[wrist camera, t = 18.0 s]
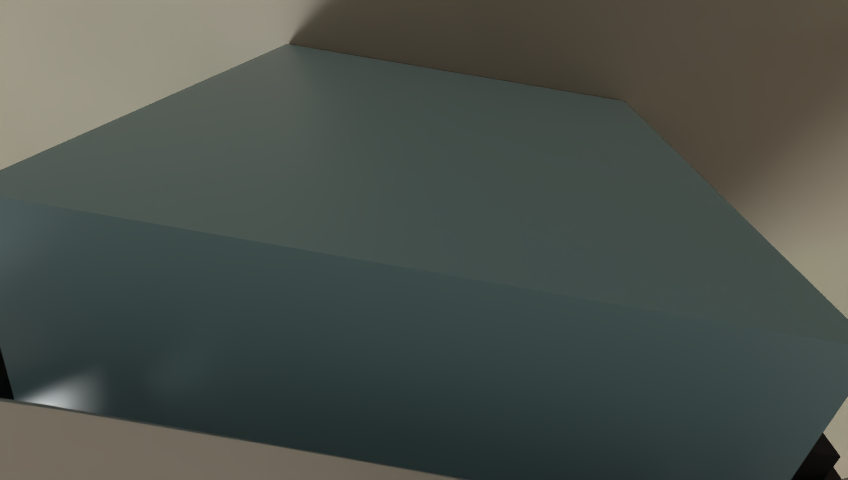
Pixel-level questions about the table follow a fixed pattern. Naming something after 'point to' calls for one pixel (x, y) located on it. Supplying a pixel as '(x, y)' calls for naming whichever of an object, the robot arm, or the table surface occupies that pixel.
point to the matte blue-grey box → (413, 281)
